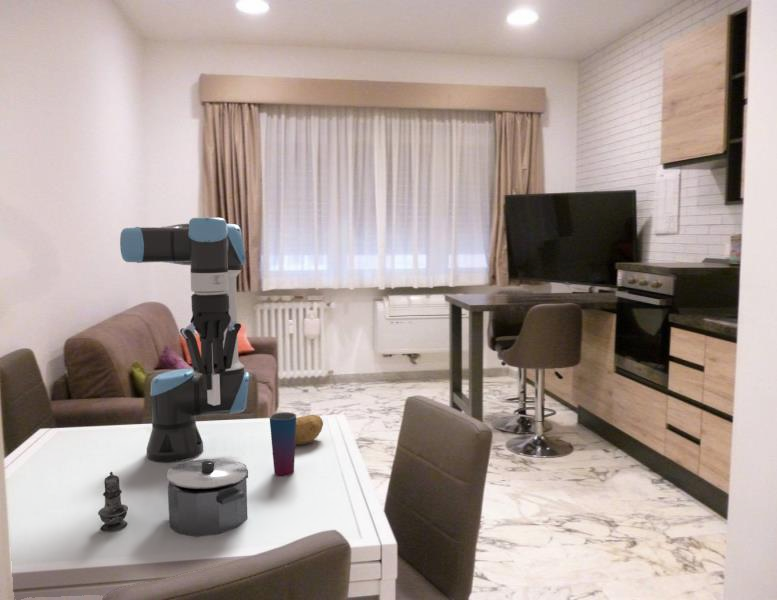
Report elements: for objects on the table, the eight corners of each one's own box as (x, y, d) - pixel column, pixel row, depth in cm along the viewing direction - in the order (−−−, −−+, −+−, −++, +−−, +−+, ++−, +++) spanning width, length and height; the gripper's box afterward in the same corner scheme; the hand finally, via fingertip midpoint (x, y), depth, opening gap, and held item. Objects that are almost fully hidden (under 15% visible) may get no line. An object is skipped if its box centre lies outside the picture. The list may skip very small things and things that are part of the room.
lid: (153, 472, 133) (153, 460, 133) (223, 457, 145) (223, 446, 145) (190, 494, 121) (190, 481, 121) (263, 476, 133) (263, 464, 133)
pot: (152, 515, 135) (150, 475, 134) (220, 492, 147) (219, 456, 146) (198, 547, 121) (196, 503, 120) (269, 519, 133) (268, 479, 132)
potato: (332, 439, 186) (331, 413, 185) (298, 452, 175) (298, 425, 174) (309, 433, 192) (308, 408, 191) (275, 445, 181) (274, 419, 180)
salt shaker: (104, 520, 133) (102, 466, 132) (133, 519, 133) (130, 465, 132) (94, 533, 127) (91, 477, 126) (123, 532, 128) (121, 476, 126)
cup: (292, 478, 156) (290, 420, 155) (266, 476, 157) (265, 419, 156) (301, 468, 163) (300, 412, 161) (276, 466, 164) (275, 411, 163)
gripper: (188, 296, 120) (193, 413, 123) (247, 291, 129) (250, 401, 132) (171, 293, 126) (176, 406, 128) (229, 289, 135) (232, 394, 137)
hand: (213, 403), depth 130 cm, fingers closed
